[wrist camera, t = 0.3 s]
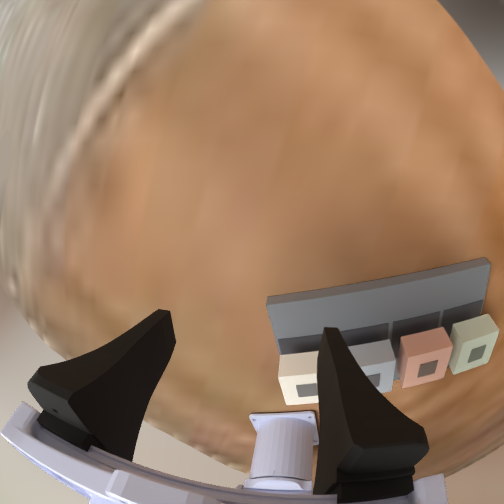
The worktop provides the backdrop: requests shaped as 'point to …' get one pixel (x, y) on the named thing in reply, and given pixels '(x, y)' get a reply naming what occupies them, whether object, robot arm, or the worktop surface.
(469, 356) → the key
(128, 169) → the worktop surface
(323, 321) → the keypad board
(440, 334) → the key
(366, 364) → the key
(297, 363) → the key
